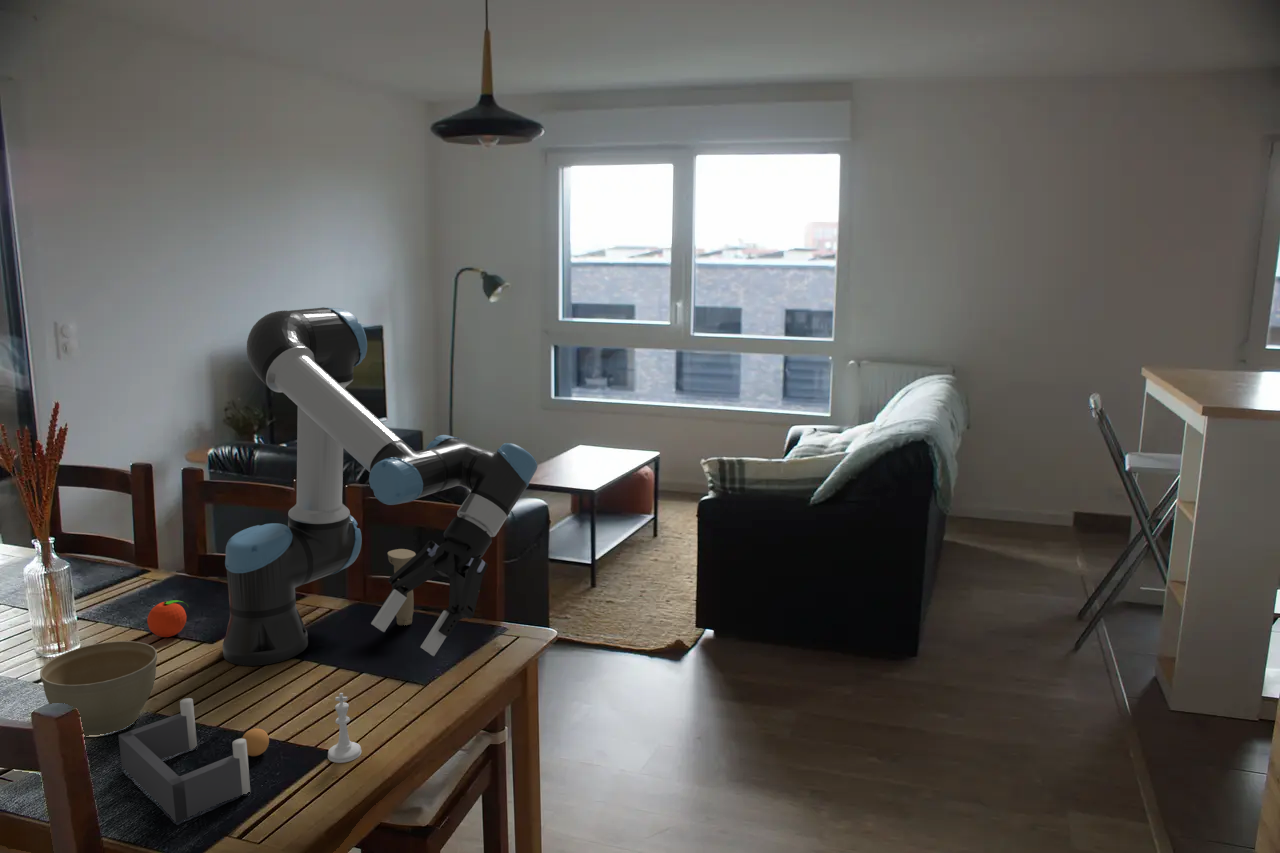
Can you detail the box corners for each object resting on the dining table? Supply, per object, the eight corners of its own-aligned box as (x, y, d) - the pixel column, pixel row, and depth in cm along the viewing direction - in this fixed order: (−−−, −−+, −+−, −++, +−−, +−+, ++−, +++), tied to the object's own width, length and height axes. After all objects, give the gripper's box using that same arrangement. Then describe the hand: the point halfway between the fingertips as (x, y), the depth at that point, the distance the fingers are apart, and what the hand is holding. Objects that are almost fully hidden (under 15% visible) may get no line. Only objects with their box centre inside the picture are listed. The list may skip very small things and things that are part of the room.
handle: (402, 631, 186) (399, 560, 183) (386, 622, 191) (382, 552, 188) (423, 624, 190) (420, 554, 187) (406, 615, 194) (403, 547, 191)
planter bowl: (82, 761, 138) (74, 694, 136) (27, 731, 147) (19, 667, 145) (183, 716, 152) (177, 654, 150) (128, 691, 160) (122, 632, 158)
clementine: (181, 624, 189) (178, 591, 187) (200, 632, 185) (197, 598, 184) (142, 637, 182) (138, 603, 181) (160, 646, 178) (156, 611, 177)
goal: (194, 744, 143) (189, 696, 142) (252, 793, 131) (248, 741, 129) (122, 772, 136) (116, 722, 134) (176, 826, 123) (171, 772, 122)
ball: (235, 757, 140) (233, 733, 139) (257, 744, 143) (255, 721, 143) (254, 763, 138) (252, 739, 137) (275, 751, 142) (273, 727, 141)
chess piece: (332, 746, 143) (328, 686, 141) (364, 745, 144) (361, 685, 142) (324, 763, 138) (320, 701, 137) (357, 762, 139) (354, 700, 137)
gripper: (536, 554, 148) (464, 673, 140) (442, 524, 165) (373, 629, 157) (510, 530, 144) (434, 651, 135) (416, 501, 160) (343, 608, 152)
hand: (401, 639), depth 146 cm, fingers open, 13 cm apart
